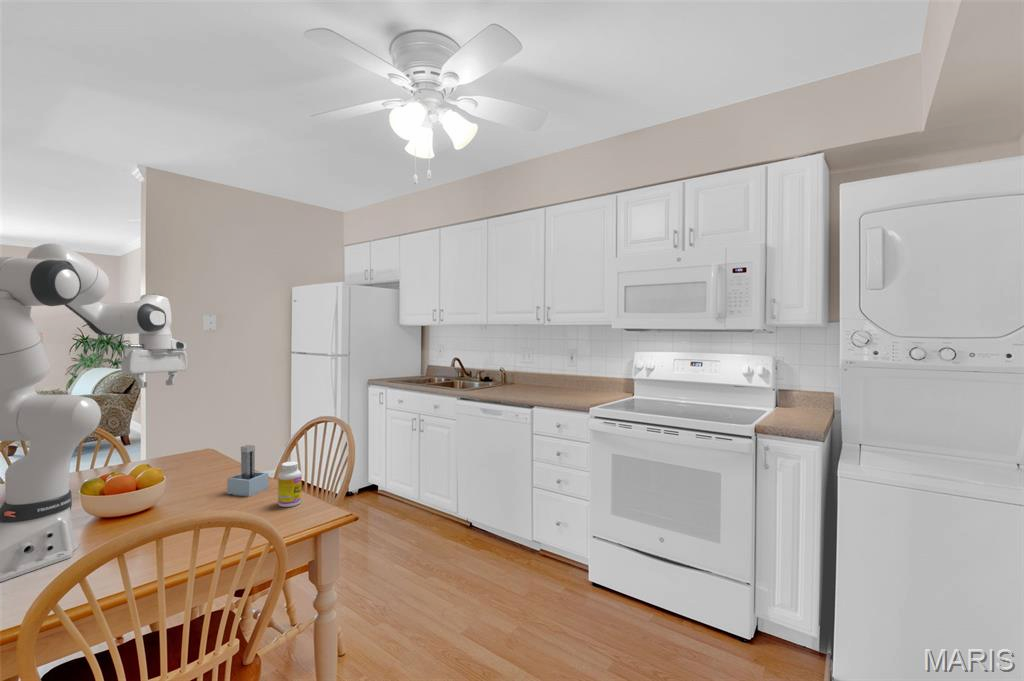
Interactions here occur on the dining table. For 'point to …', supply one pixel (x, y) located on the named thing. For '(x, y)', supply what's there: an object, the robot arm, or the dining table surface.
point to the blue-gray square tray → (247, 484)
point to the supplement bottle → (289, 485)
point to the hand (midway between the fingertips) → (156, 386)
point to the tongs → (248, 462)
